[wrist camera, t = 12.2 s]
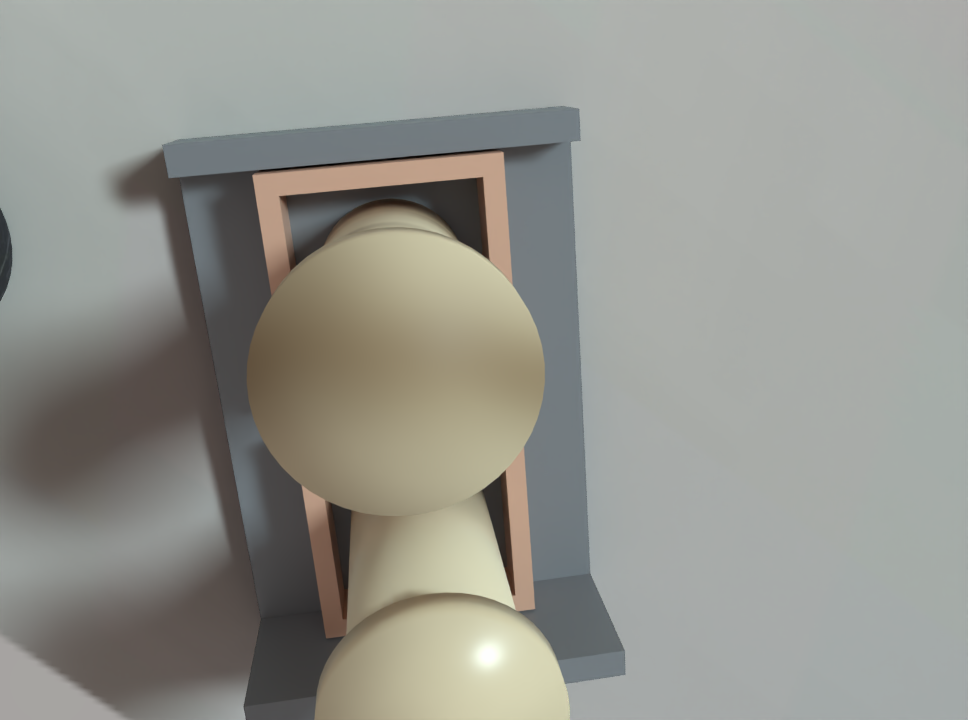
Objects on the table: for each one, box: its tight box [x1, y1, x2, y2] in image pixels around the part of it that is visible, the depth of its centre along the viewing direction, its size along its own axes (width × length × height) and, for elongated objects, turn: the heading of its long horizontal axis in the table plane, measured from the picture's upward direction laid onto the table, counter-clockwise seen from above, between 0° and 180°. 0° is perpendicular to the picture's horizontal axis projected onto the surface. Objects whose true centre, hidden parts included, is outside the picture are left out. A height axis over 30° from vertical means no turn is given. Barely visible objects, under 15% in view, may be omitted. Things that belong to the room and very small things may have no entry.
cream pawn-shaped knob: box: [247, 198, 545, 516], centre depth 25 cm, size 6×6×12 cm
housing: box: [162, 106, 625, 720], centre depth 27 cm, size 13×19×13 cm
